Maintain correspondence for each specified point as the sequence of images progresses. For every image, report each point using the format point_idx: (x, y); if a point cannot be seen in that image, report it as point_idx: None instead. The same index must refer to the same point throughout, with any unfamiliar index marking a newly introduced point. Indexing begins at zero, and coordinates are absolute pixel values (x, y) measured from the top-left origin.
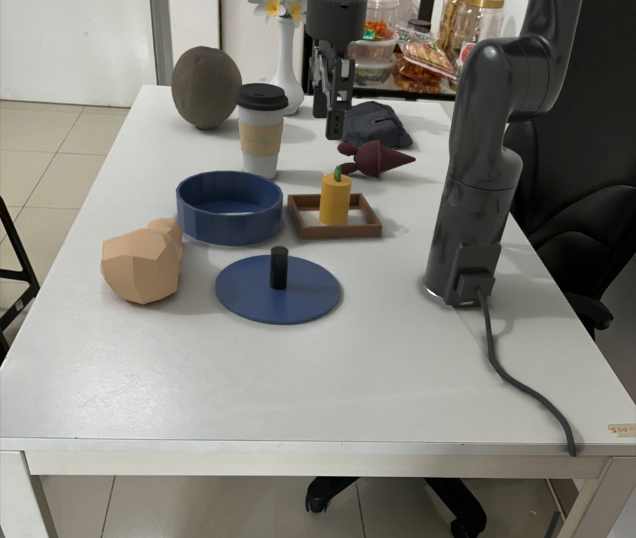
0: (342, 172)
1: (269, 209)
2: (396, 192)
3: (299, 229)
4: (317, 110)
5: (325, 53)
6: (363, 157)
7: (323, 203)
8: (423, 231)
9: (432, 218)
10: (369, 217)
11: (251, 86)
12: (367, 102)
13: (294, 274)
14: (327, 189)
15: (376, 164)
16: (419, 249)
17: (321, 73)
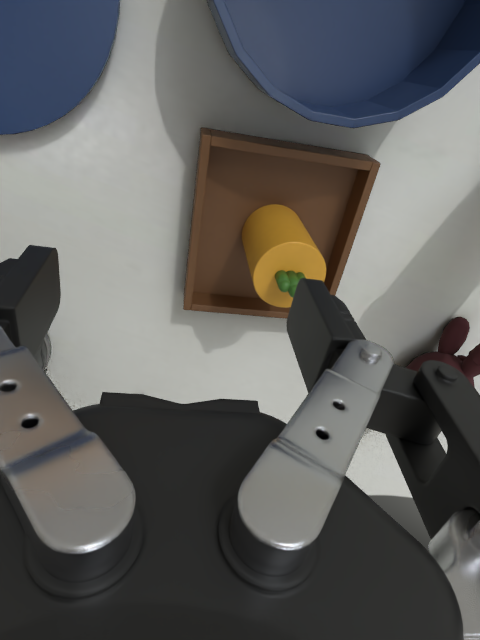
0: (449, 323)
1: (228, 35)
2: None
3: (231, 135)
4: (304, 303)
5: (141, 585)
6: None
7: (273, 222)
8: (199, 368)
9: (239, 395)
10: (243, 302)
11: None
12: None
13: (8, 29)
14: (271, 240)
15: None
16: (138, 341)
17: (229, 422)
